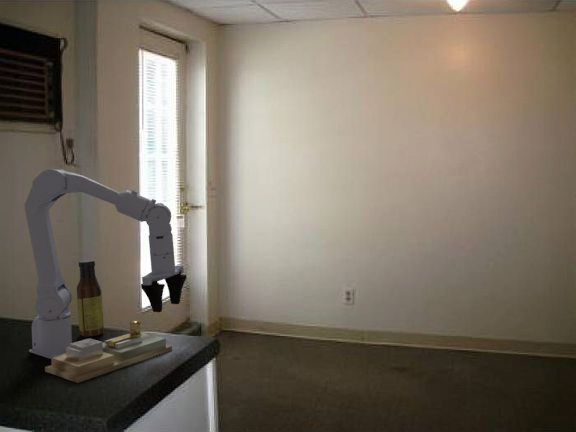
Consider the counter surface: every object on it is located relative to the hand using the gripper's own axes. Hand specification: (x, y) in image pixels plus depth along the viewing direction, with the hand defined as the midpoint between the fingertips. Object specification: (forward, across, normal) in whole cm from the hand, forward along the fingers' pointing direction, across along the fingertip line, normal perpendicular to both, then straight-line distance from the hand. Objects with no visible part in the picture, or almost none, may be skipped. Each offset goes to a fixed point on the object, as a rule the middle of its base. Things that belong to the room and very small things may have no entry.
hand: (166, 307), depth 144 cm
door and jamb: (+9, -14, +6) cm, 18 cm away
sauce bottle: (+9, +1, +26) cm, 27 cm away
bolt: (+6, -10, +5) cm, 13 cm away
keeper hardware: (+6, -15, +7) cm, 18 cm away
